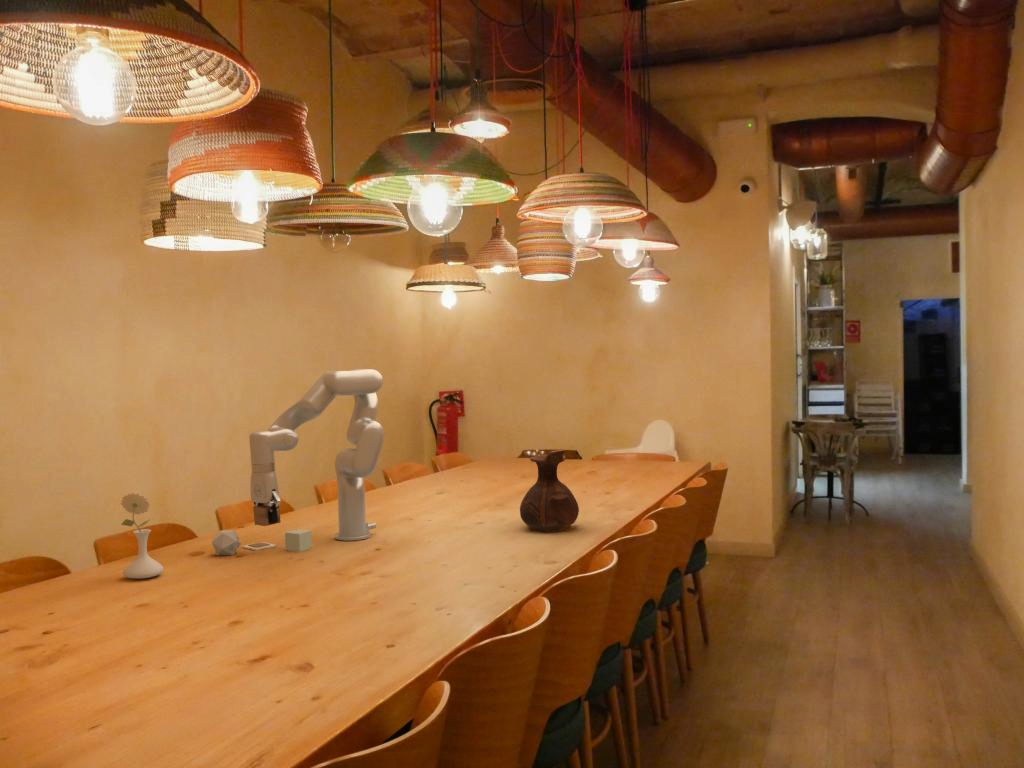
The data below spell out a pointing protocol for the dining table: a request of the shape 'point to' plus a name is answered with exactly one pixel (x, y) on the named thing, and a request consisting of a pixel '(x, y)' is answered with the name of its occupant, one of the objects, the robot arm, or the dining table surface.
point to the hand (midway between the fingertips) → (267, 521)
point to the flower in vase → (140, 540)
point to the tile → (259, 546)
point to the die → (226, 542)
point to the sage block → (298, 540)
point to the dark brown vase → (549, 497)
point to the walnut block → (263, 515)
